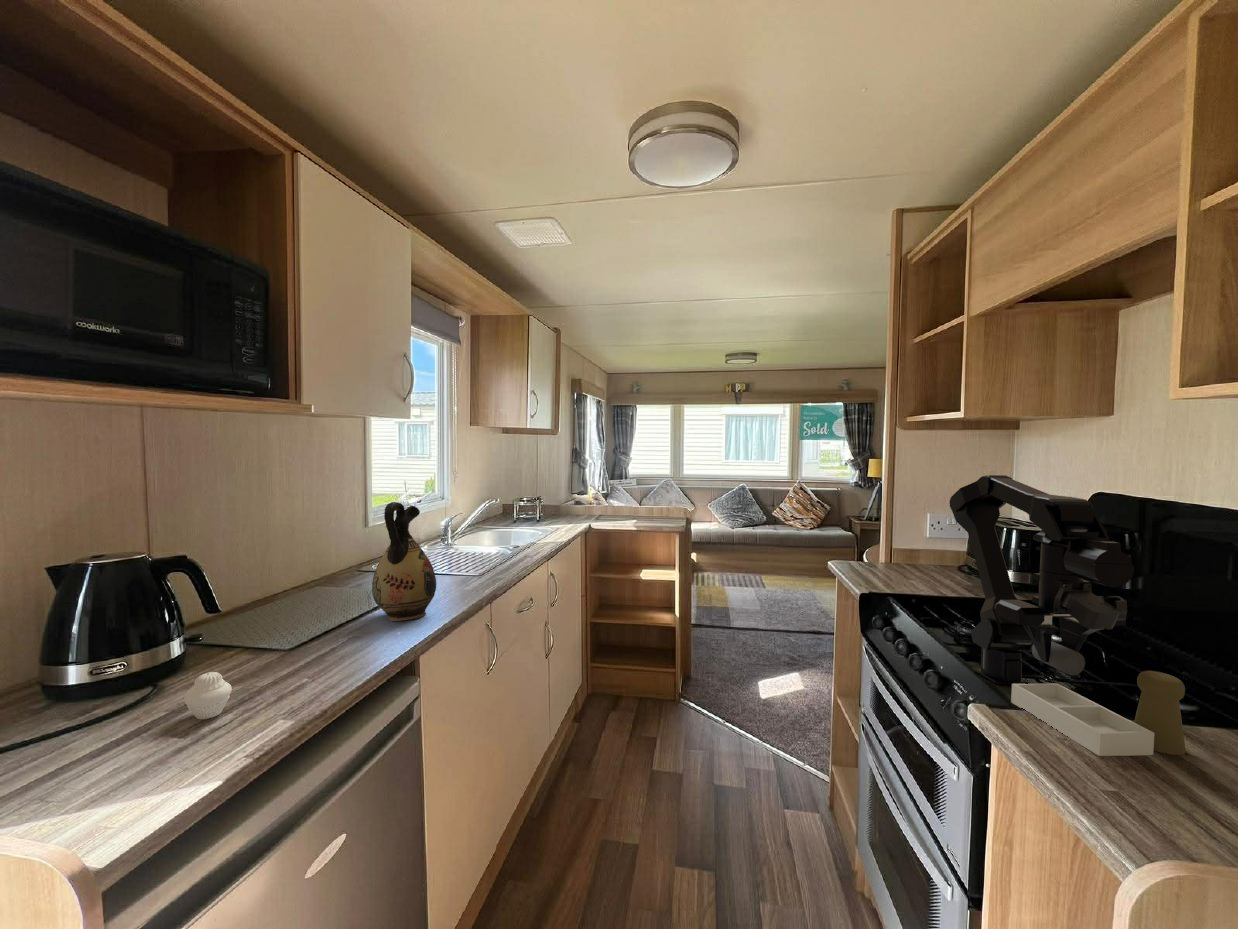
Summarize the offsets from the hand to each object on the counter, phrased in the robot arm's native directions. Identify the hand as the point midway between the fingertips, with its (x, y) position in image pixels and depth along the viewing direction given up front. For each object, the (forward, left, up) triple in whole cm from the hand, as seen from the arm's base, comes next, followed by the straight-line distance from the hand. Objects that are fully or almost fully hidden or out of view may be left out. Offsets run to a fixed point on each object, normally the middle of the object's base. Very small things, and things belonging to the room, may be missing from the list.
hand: (1056, 661), depth 90 cm
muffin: (-3, -142, -9) cm, 143 cm away
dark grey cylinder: (0, 0, +1) cm, 1 cm away
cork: (+9, +8, -9) cm, 16 cm away
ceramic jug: (-52, -128, -9) cm, 139 cm away
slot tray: (+4, 0, -9) cm, 10 cm away
